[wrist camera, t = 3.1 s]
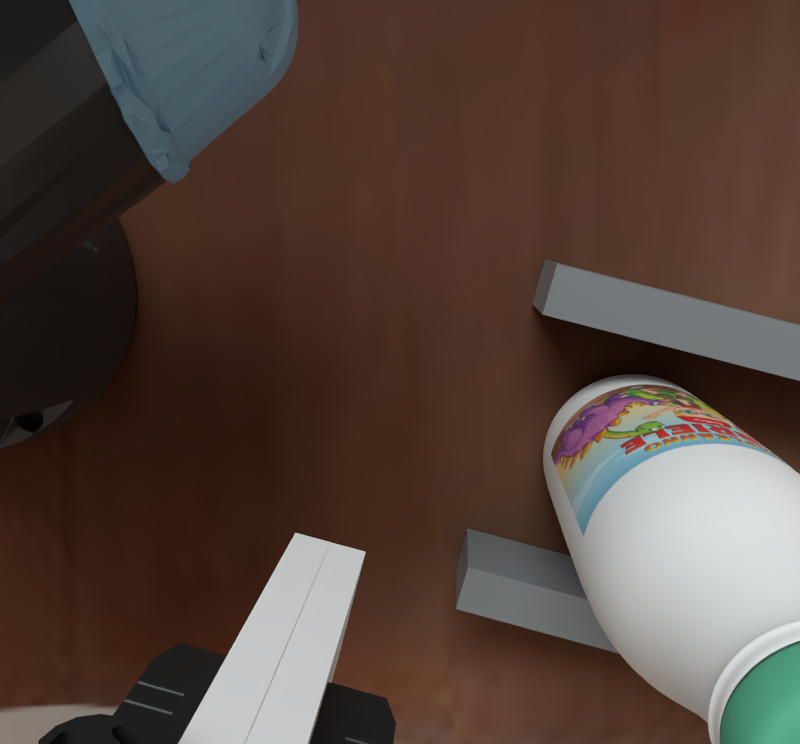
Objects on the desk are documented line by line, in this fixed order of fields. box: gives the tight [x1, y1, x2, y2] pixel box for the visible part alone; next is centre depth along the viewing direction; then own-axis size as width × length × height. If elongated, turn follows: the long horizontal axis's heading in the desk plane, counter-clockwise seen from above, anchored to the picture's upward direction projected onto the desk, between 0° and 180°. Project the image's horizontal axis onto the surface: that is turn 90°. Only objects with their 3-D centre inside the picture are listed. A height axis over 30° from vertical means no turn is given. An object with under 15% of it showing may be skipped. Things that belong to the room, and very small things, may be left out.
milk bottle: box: [543, 374, 800, 744], centre depth 23 cm, size 8×8×20 cm
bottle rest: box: [456, 260, 800, 653], centre depth 30 cm, size 25×15×4 cm, turn 76°
